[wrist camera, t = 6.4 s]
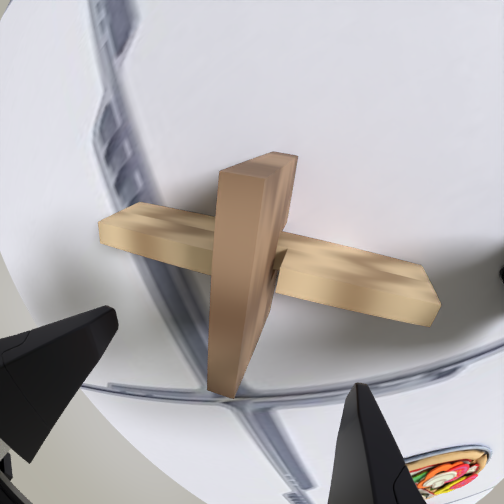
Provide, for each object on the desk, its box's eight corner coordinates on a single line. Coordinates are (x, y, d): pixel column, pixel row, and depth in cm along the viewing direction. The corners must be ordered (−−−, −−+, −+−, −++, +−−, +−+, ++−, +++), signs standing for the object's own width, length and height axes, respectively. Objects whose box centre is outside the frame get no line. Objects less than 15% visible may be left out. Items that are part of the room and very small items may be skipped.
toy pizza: (394, 503, 38) (392, 518, 34) (317, 481, 36) (313, 501, 32) (503, 456, 24) (505, 473, 20) (466, 423, 23) (470, 450, 19)
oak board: (421, 265, 17) (441, 305, 13) (413, 284, 18) (429, 327, 14) (139, 202, 22) (98, 221, 17) (140, 220, 22) (100, 243, 18)
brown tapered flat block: (273, 151, 17) (219, 171, 9) (298, 155, 17) (264, 178, 9) (250, 305, 23) (207, 390, 15) (269, 310, 22) (233, 398, 14)
